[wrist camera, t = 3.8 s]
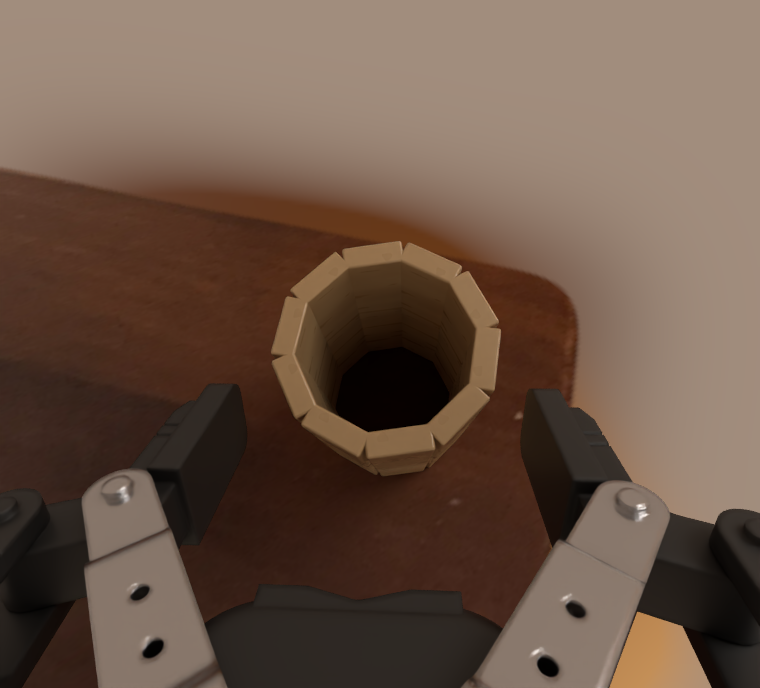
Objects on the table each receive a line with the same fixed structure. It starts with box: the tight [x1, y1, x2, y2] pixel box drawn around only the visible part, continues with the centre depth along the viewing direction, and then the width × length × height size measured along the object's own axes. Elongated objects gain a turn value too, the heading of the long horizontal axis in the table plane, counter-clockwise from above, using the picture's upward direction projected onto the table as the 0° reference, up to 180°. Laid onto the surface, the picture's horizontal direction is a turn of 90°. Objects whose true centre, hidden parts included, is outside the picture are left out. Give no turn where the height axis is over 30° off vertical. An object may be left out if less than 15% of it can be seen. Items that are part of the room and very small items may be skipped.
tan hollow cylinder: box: [271, 241, 501, 476], centre depth 17 cm, size 6×6×8 cm
